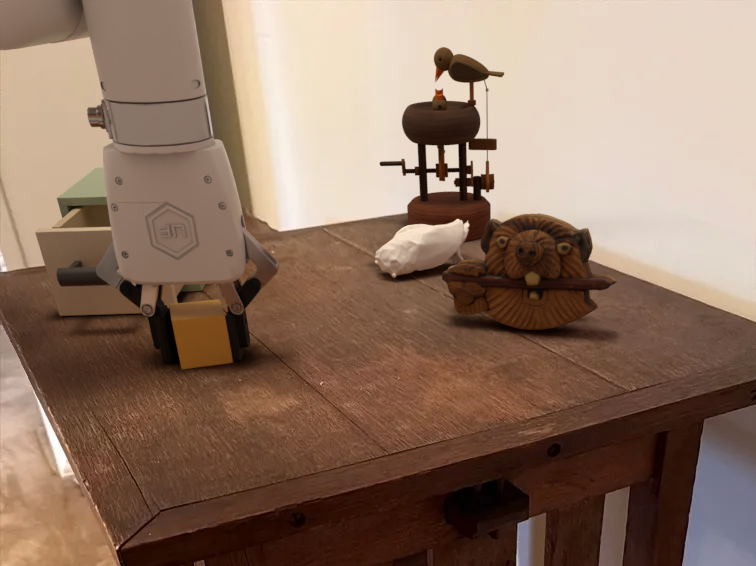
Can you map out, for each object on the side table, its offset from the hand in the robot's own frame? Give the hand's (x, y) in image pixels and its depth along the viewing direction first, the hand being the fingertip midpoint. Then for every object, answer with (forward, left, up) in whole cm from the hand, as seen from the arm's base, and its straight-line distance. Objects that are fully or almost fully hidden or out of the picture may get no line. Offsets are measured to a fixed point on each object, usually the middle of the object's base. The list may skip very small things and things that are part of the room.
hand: (204, 353), depth 81 cm
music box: (+22, +43, -1) cm, 48 cm away
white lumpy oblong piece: (+19, +26, -1) cm, 32 cm away
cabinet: (-11, +29, -1) cm, 31 cm away
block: (0, 0, 0) cm, 0 cm away
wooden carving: (+29, +7, -1) cm, 30 cm away
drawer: (-11, +16, 0) cm, 19 cm away
